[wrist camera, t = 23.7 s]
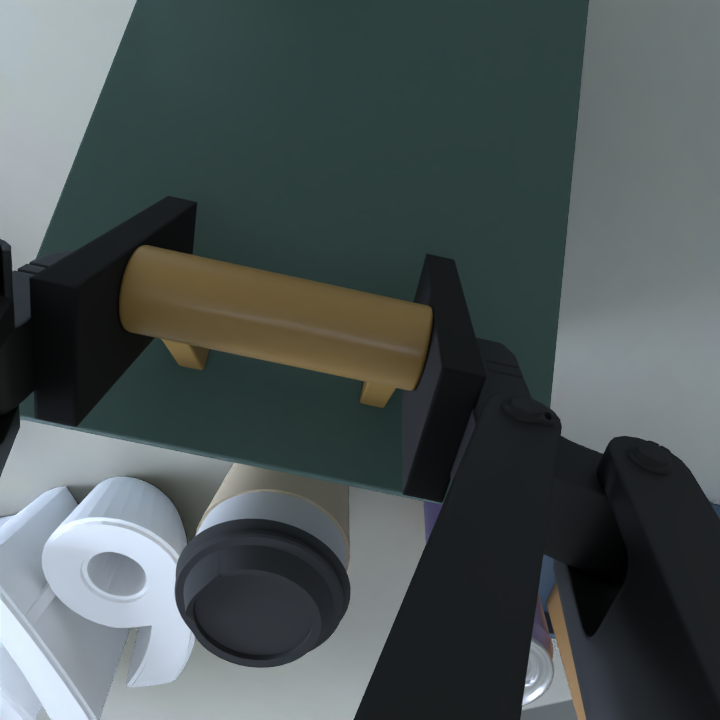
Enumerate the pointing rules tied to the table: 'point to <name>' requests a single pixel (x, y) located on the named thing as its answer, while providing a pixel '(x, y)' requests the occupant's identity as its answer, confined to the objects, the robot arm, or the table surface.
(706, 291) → the table surface
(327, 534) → the coffee cup
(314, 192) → the lid
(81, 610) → the white letter sculpture
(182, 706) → the table surface
